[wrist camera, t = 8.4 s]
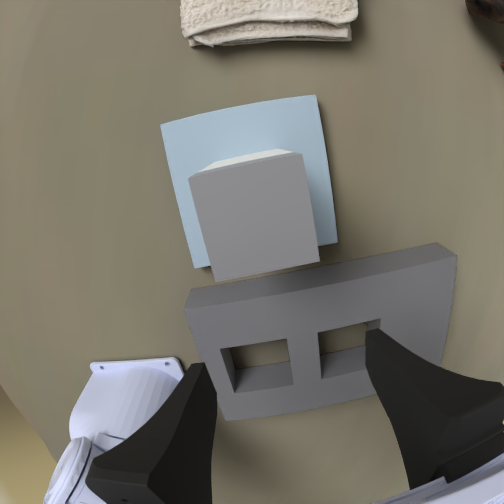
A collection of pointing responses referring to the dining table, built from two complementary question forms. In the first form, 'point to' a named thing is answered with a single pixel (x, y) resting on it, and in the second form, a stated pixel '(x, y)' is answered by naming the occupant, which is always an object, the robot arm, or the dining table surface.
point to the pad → (244, 143)
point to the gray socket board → (320, 327)
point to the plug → (255, 214)
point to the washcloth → (266, 21)
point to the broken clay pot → (487, 10)
